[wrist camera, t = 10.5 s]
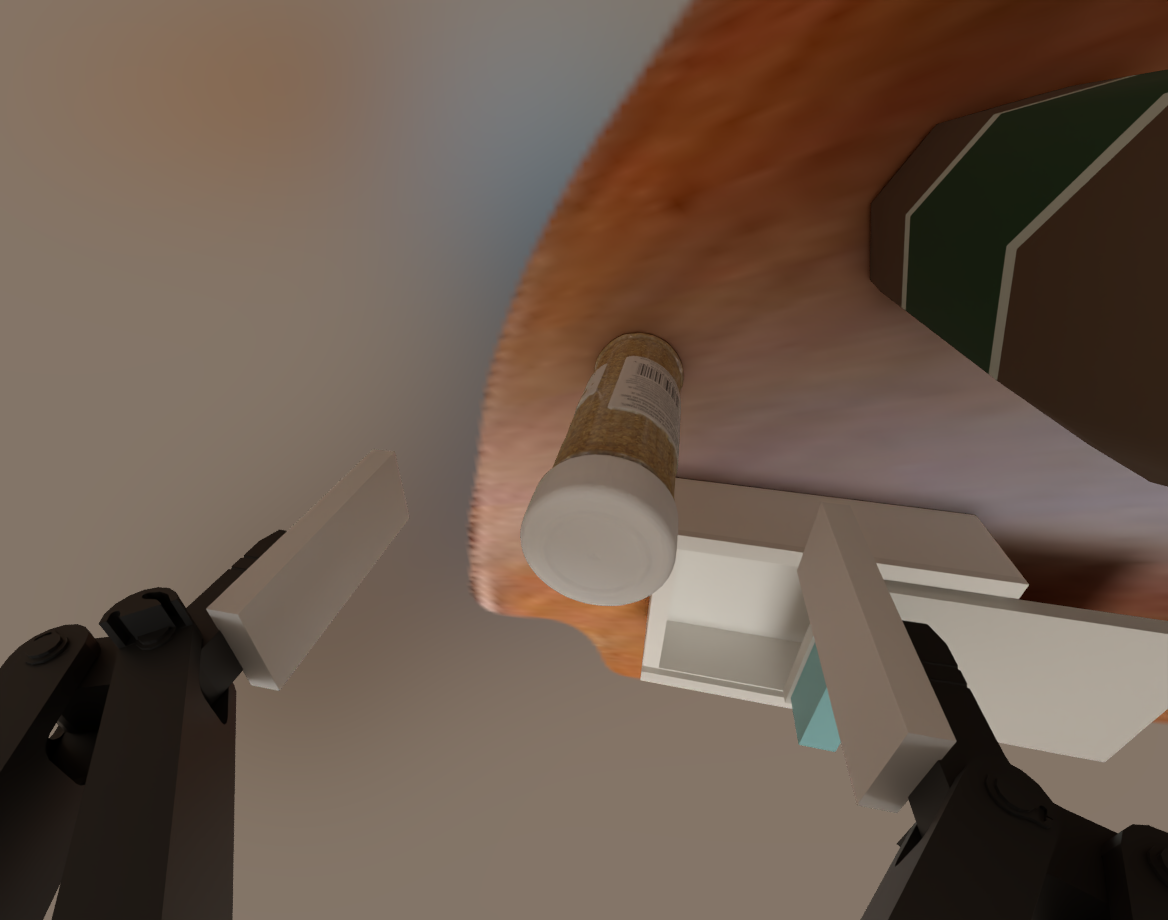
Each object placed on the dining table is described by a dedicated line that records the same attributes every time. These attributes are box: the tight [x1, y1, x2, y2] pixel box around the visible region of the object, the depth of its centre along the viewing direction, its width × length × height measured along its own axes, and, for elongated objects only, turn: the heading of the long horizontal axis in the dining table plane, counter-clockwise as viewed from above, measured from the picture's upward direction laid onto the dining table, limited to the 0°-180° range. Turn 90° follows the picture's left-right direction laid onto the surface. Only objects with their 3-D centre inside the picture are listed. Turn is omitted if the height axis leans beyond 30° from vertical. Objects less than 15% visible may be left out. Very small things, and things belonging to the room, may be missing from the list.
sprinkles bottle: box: [520, 333, 684, 606], centre depth 19 cm, size 5×5×13 cm
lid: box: [783, 580, 1168, 762], centre depth 23 cm, size 16×10×3 cm, turn 89°
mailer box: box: [641, 478, 1029, 709], centre depth 28 cm, size 16×12×5 cm
